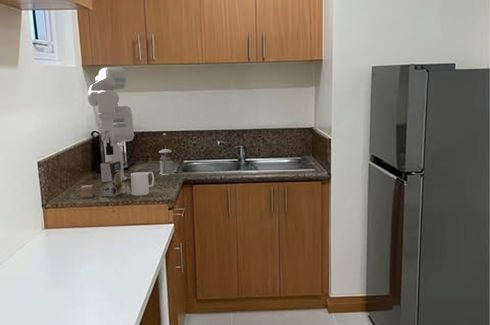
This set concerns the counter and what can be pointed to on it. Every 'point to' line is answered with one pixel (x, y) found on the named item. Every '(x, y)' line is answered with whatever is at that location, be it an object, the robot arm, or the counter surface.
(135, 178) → the cup
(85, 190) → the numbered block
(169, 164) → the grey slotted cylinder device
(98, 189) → the counter surface
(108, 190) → the coffee box
